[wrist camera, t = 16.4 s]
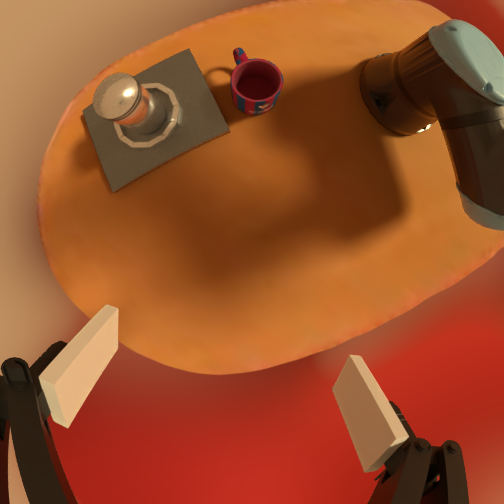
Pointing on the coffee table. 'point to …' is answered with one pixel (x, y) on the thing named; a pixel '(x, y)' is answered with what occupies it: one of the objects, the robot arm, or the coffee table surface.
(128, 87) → the disc
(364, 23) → the coffee table surface
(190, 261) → the coffee table surface
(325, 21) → the coffee table surface
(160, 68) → the grey base plate
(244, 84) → the mug
